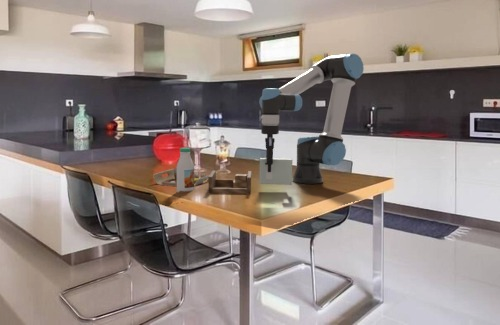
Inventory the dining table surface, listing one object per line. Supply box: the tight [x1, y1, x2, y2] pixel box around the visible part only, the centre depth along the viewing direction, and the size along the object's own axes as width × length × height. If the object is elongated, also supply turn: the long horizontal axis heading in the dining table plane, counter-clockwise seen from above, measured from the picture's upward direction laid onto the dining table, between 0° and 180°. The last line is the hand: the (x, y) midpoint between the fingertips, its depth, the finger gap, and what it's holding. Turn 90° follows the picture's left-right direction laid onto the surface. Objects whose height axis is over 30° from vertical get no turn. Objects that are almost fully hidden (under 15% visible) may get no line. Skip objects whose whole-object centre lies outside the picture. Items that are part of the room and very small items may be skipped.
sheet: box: [258, 157, 293, 186], centre depth 174 cm, size 14×4×11 cm, turn 90°
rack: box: [207, 170, 252, 195], centre depth 177 cm, size 18×16×8 cm
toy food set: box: [152, 166, 209, 187], centre depth 198 cm, size 25×18×8 cm
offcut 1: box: [234, 173, 248, 183], centre depth 180 cm, size 5×4×3 cm
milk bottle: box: [176, 147, 195, 193], centre depth 175 cm, size 8×8×20 cm
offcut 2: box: [233, 180, 247, 188], centre depth 181 cm, size 6×5×3 cm
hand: (268, 178), depth 174 cm, fingers closed on sheet, 3 cm apart
